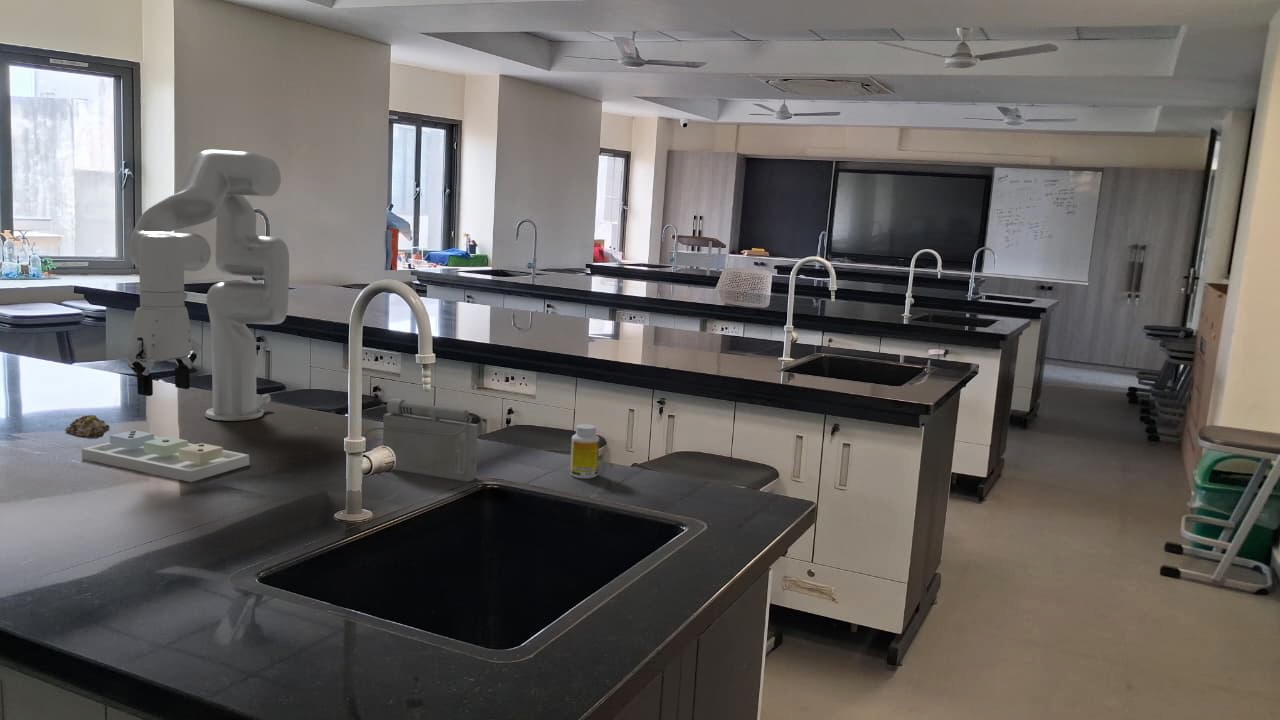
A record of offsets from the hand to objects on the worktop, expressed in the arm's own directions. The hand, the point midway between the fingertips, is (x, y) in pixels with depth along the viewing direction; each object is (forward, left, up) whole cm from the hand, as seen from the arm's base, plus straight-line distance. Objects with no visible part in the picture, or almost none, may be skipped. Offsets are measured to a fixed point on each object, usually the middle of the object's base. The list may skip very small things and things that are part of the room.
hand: (164, 391), depth 182 cm
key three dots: (0, -9, -12) cm, 15 cm away
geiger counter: (-21, +43, -14) cm, 50 cm away
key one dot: (0, 0, -12) cm, 12 cm away
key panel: (0, 0, -14) cm, 14 cm away
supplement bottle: (-37, +72, -14) cm, 82 cm away
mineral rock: (-8, -31, -15) cm, 35 cm away
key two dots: (0, +9, -12) cm, 15 cm away
